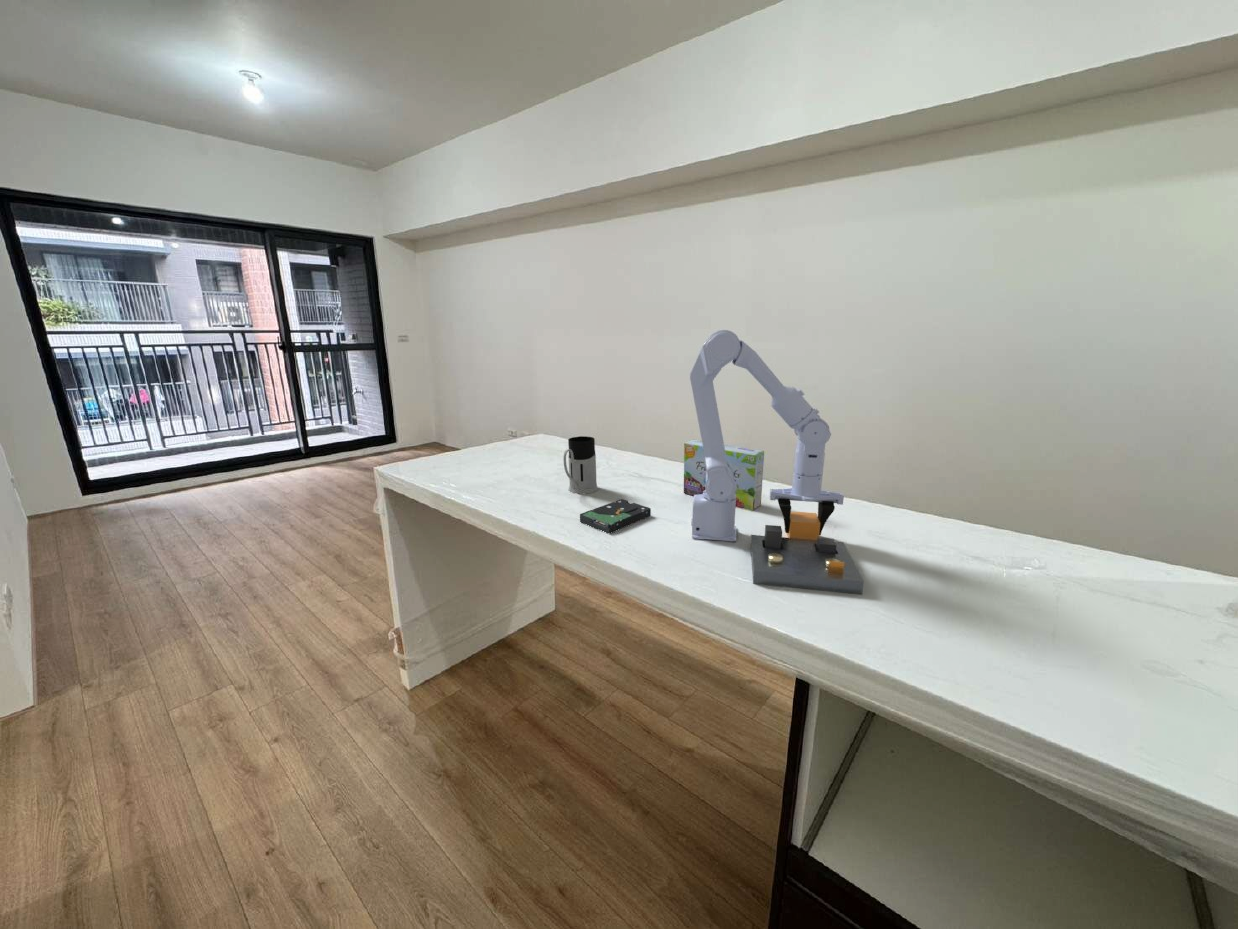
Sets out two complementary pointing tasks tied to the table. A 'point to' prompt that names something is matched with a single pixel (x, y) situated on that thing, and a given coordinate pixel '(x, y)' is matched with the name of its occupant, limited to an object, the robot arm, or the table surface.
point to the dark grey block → (826, 545)
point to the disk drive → (615, 515)
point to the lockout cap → (804, 526)
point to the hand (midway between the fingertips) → (802, 532)
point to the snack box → (744, 467)
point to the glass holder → (581, 464)
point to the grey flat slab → (804, 566)
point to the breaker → (773, 537)
